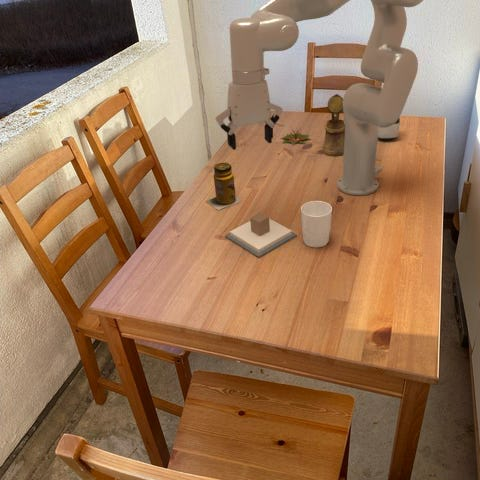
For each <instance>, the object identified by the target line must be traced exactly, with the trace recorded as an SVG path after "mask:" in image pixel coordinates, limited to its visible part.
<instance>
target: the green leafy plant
mask: <svg viewBox="0 0 480 480" xmlns="http://www.w3.org/2000/svg"><path fill="white" fill-rule="evenodd" d="M291 131H292V132H291ZM291 131H290V132H289V134H288V133H286V136H285V135H284V136H283V137H281V138H280V139H281V140H282V139H284V140H283V141H282V143H283V144H285V143H291V144H292V146H294V145H295V144H297V143H298V144H305V145H306V140H311V138H309V134H302V133H301V131H302V129H301V128H299V129H298V128H296V131H295V130H294V129H291Z"/></svg>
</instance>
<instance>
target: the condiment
mask: <svg viewBox="0 0 480 480" xmlns="http://www.w3.org/2000/svg"><path fill="white" fill-rule="evenodd" d="M213 169H214V171H213V180H214V182H213V183H214V190H215V192H214V193H215V197H213V198H209V199H207V200H205V201H206V202H207V203H208V204H209V205H210V206H212V207H213V208H215V210H217V211H220V210H222V209H224V208H227V207H230V206H233V205H236V204H238V203H240V202H242V200H240V199H239V198H238V197H237V196H236V187H235V177H234V176H235V175H234V173H233V169H232V164H230V163H229V162H220V163H219V162H218V163H216V164H215V165H214V167H213Z"/></svg>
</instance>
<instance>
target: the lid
mask: <svg viewBox="0 0 480 480" xmlns="http://www.w3.org/2000/svg"><path fill="white" fill-rule="evenodd" d="M292 232H293V230H291V229H290V228H288V227H286V226H284V225H283V224H281V223H278V222H276V221H275V220H273V219H271V218H270V217H269V216H268V215H267V214H264V213H263V212H258V213H256V214H254V215H252V216H250V218H249V221H248V222H247V221H246V222H245V223H244V224H242V225H240V226H238V227H236V228H234V229H232V230H230V231H229V233H230V236H232V237H234V238H235V239H237V240H239V241H240V242H242V243H243V244H245V245H247V246H248V247H250V248H251V249H253V250H255V251H256V252H258V253H260V252H262V251H264V250H265V249H267V248H269V247H271V246H273V245H274V244H276V243H278V242H280V241H281V240H283V239H285V238H287V237H288V236H290V235H292Z"/></svg>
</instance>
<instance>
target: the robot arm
mask: <svg viewBox="0 0 480 480" xmlns="http://www.w3.org/2000/svg"><path fill="white" fill-rule="evenodd" d="M350 1H351V0H269V1H267V3H265V4H263V6H262V5H261V7H260V8H258V9H257V10H255V12H254V13H252V15H251V16H250V17H243V18H236V19H234V20H233V21H231V22H230V25H229V41H230V42H229V44H230V59H231V80H232V81H230V82H229V83H228V89H227V101H226V102H227V105H226V106H227V108H226V109H225V110H224V111H222V112H220V113H219V114H217V116H216V117H214V118H215V121H216V122H217V125H218V126H219V127H220V128H221V129H222V131H224V132H225V133H226V136H227V145H228V146H229V147H230V148H231V149H232V150H233V151H235V150H237V138H236V134H235V131H236V130H237V128H238V127H243V126H248V125H249V126H250V125H256V124H261V123H265V125H264V140H265V141H266V142H267V143H268V144H272V142H273V141H272V139H273V137H274V128H275V126H276V123H277V122H279V120H280V116H281V115H282V113H283V110H284V109H283V107H281V106H280V105H277V104H275V103H272V102H271V98H270V92H269V91H270V90H269V86H268V82H267V79H266V75H269V74H270V69H269V68H266V67H265V66H264V62H265V60H264V59H265V58H264V55H265V52H284V51H286V50H289V49H291V48H292V47H293V46H295V44H296V43H297V41H298V39H299V35H300V30H299V26H298V24H297V23H298V22H302V21H308V20H310V21H311V20H317V19H321V18H325V17H328V16H331V15H332V14H334V13H335V12H336V11H337V10H338V9H339V10H340V8H341V7H343V6H344V5H346V4H347V3H348V2H350ZM423 1H424V0H370V2H371V5H372V8H373V13H374V22H373V26H372V29H371V33H370V35H369V39H368V42H367V44H366V47H365V50H364V51H363V52H364V53H363V55H362V60H361V61H360V62H361V63H360V72H361V74H362V75H363V76H364V77H366V78H368V79H369V80H372V81H375V82H378V83H382V87H379V86H376V85H372V84H369V83H366V82H358V83H354V84H351V86H349V87H348V88H347V89H346V91H345V93H344V95H343V96H342V98H343V111H342V112H343V118H344V124H345V139H344V155H343V159H342V162H343V164H342V176H340V178H339V179H338V180H337V183H336V186H337V188H338V189H339V191H341V192H343V193H345V194H349V195H353V196H366V195H369V194H372V193H374V192H376V191H378V189H379V184H380V183H379V181H378V179H377V178H376V176H377V174H380V173H381V172H382V171H383V168H382V166H380V165H378V166H376V159H377V147H378V141H379V140H378V127H382V128H386V127H390V126H392V125H393V124H394V123H395V122H396V121H397V120H398V118H399V117H401V115H402V113H403V111H404V108H405V106H406V103H407V100H408V99H409V96H410V93H411V90H412V88H413V85H414V83H415V81H416V77H417V75H418V70H419V61H418V57H417V55H416V53H414V51H413V50H411V49H409V48H406V47H402V43H403V39H404V37H405V33H406V30H407V26H408V25H407V23H408V22H407V21H408V20H407V18H408V17H407V11H406V10H405V8H413V7H416V6H418V5H420V4H421V3H422V2H423ZM271 110H273V111H274V113H273V115H272V114H271V112H272V111H271ZM226 119H228V121H229V122H228V123H227V124H225V122H224V120H226ZM377 126H378V127H377Z"/></svg>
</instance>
